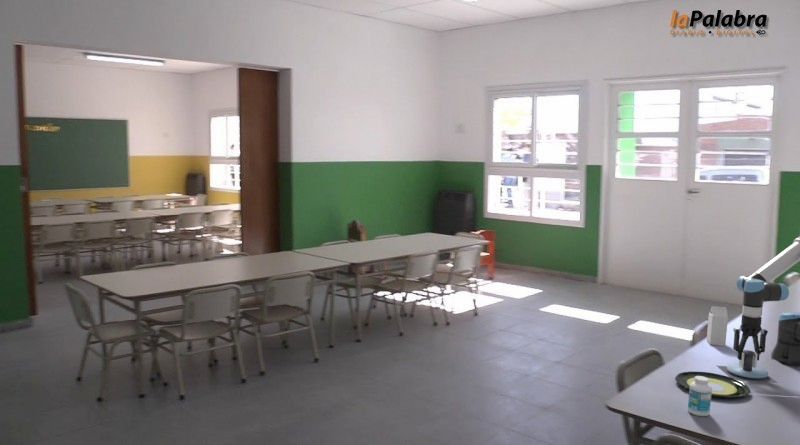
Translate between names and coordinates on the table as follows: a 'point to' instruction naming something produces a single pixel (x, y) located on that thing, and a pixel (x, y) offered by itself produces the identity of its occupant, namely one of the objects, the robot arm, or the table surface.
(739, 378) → the mat
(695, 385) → the pill bottle
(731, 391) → the plate
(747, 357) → the lid
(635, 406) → the table surface
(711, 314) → the milk carton
